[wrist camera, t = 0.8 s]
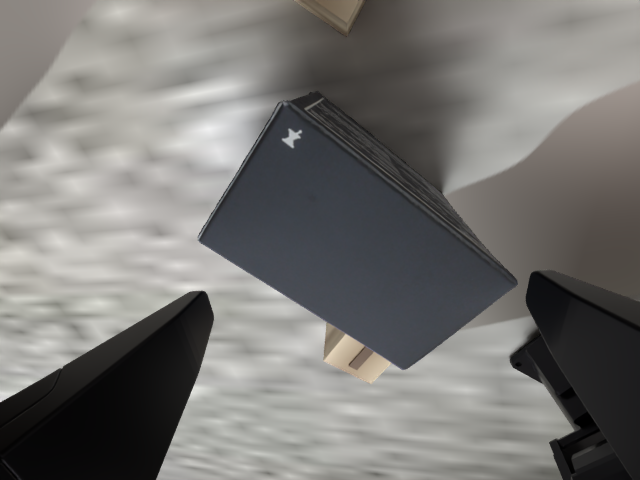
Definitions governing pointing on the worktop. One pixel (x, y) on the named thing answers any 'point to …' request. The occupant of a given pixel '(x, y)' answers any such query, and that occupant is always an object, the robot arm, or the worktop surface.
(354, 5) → the marked block 1
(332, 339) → the marked block 2
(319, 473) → the worktop surface
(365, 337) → the small box
